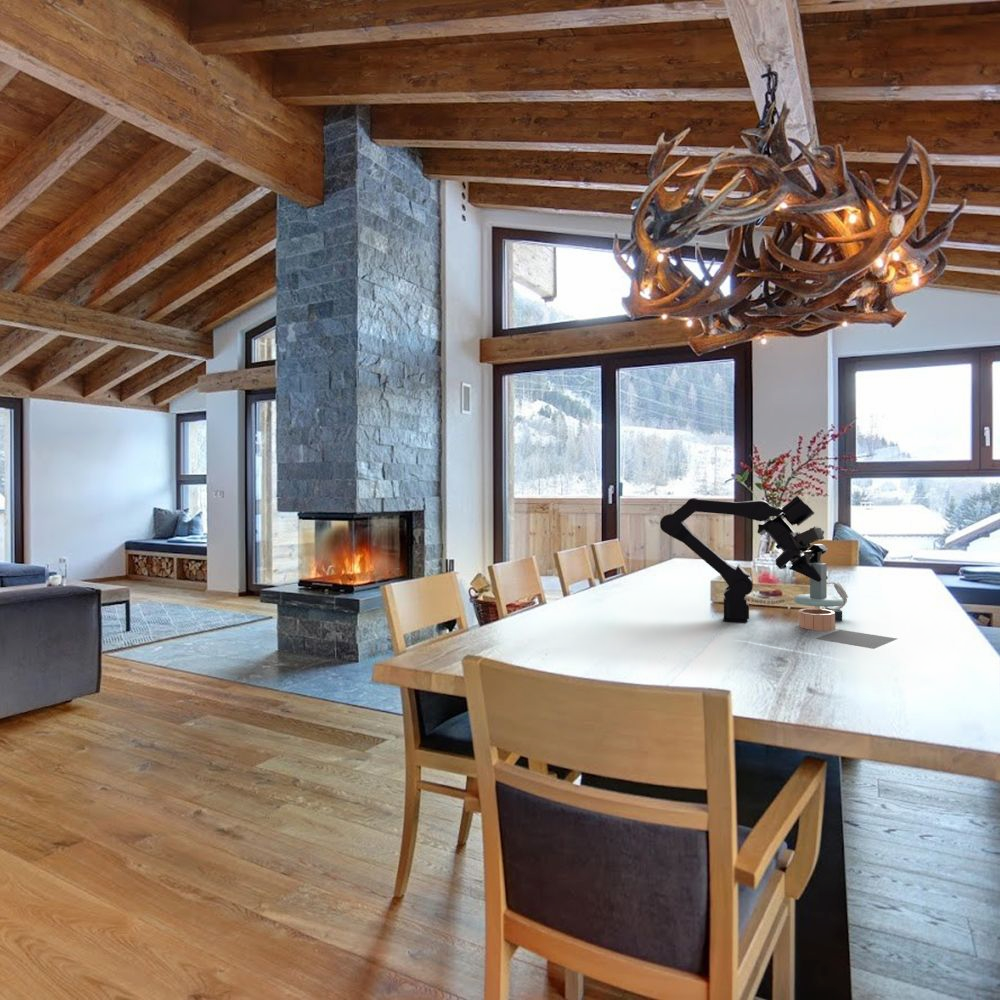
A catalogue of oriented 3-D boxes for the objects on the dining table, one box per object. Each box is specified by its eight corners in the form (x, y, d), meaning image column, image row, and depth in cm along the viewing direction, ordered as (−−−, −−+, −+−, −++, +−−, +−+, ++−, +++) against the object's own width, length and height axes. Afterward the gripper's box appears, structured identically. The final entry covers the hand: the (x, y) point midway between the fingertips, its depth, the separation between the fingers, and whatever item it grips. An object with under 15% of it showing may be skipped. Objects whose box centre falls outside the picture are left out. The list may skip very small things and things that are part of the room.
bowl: (800, 630, 181) (799, 613, 181) (798, 623, 189) (797, 607, 189) (836, 632, 178) (836, 615, 177) (832, 625, 186) (832, 609, 186)
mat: (814, 640, 170) (815, 638, 170) (840, 631, 179) (840, 629, 179) (874, 650, 159) (873, 648, 159) (897, 640, 168) (897, 638, 168)
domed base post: (785, 602, 183) (785, 563, 183) (807, 596, 190) (807, 559, 190) (829, 608, 174) (829, 567, 173) (851, 602, 181) (851, 563, 181)
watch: (850, 622, 189) (849, 583, 189) (818, 621, 191) (818, 583, 191) (845, 618, 194) (845, 580, 194) (815, 617, 197) (814, 580, 196)
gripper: (786, 518, 178) (827, 564, 170) (820, 515, 190) (861, 557, 182) (758, 546, 185) (797, 591, 177) (793, 541, 196) (831, 583, 188)
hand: (823, 580), depth 181 cm, fingers closed on domed base post, 3 cm apart
